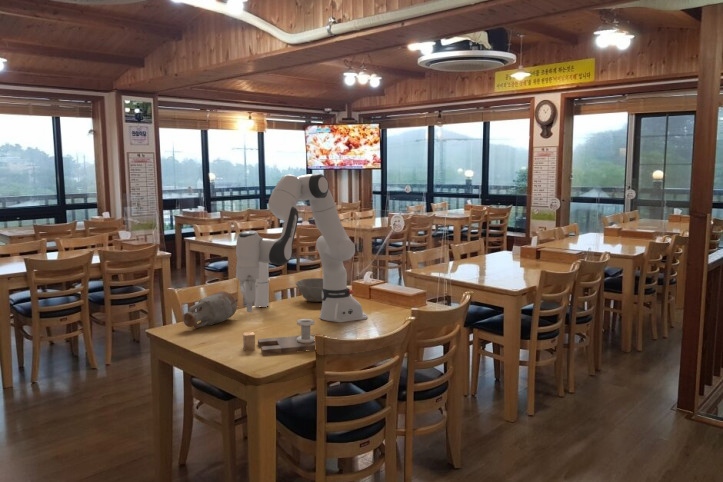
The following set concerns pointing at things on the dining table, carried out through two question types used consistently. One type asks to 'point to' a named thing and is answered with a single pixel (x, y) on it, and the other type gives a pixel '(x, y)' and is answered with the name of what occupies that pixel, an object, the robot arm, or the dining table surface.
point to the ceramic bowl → (311, 289)
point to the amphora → (211, 310)
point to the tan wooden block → (249, 341)
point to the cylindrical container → (262, 286)
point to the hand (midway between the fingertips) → (247, 308)
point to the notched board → (283, 345)
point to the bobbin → (305, 330)
